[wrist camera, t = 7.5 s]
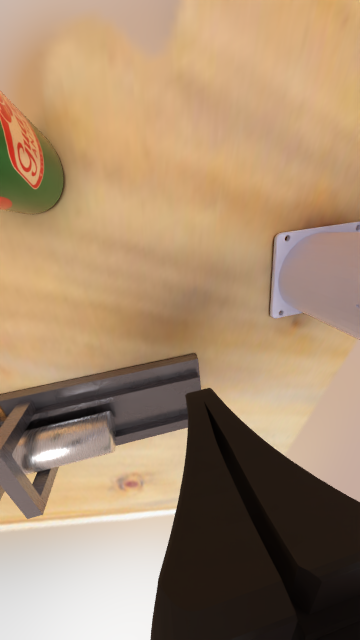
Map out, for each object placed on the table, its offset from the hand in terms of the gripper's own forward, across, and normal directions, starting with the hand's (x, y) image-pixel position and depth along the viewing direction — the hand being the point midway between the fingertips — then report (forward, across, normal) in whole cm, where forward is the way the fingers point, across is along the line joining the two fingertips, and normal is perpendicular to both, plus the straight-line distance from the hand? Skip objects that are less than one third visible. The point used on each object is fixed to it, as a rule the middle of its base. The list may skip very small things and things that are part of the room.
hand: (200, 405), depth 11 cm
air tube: (+9, +14, +8) cm, 18 cm away
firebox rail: (+10, +10, +8) cm, 17 cm away
